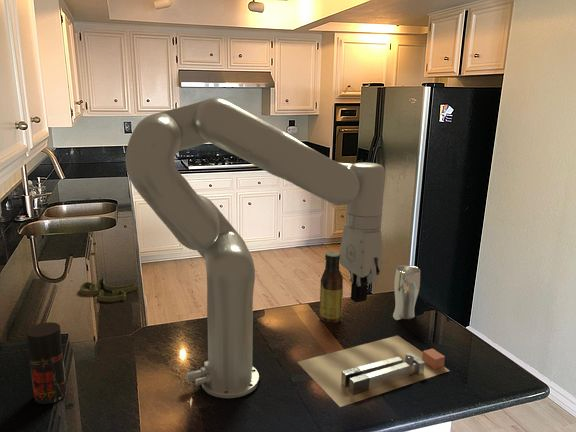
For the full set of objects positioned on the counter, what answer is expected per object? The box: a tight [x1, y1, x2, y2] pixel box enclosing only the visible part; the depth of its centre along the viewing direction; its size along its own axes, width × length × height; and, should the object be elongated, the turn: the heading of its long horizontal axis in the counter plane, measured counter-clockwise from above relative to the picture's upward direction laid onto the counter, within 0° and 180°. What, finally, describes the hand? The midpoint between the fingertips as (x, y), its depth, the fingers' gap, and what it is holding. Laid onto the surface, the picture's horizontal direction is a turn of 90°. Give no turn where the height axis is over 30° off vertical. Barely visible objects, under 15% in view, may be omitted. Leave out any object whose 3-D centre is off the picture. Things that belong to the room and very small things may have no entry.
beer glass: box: [392, 264, 421, 321], centre depth 133 cm, size 7×7×15 cm
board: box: [296, 335, 451, 408], centre depth 108 cm, size 30×18×1 cm, turn 117°
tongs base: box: [349, 352, 425, 396], centre depth 102 cm, size 19×5×4 cm, turn 117°
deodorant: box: [25, 321, 67, 402], centre depth 94 cm, size 6×6×15 cm
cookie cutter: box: [79, 277, 139, 303], centre depth 146 cm, size 18×12×2 cm, turn 71°
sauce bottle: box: [319, 251, 344, 324], centre depth 130 cm, size 6×6×20 cm
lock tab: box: [422, 348, 446, 369], centre depth 109 cm, size 3×4×2 cm
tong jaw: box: [341, 357, 403, 387], centre depth 103 cm, size 15×2×3 cm, turn 115°
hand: (358, 300), depth 104 cm, fingers closed
